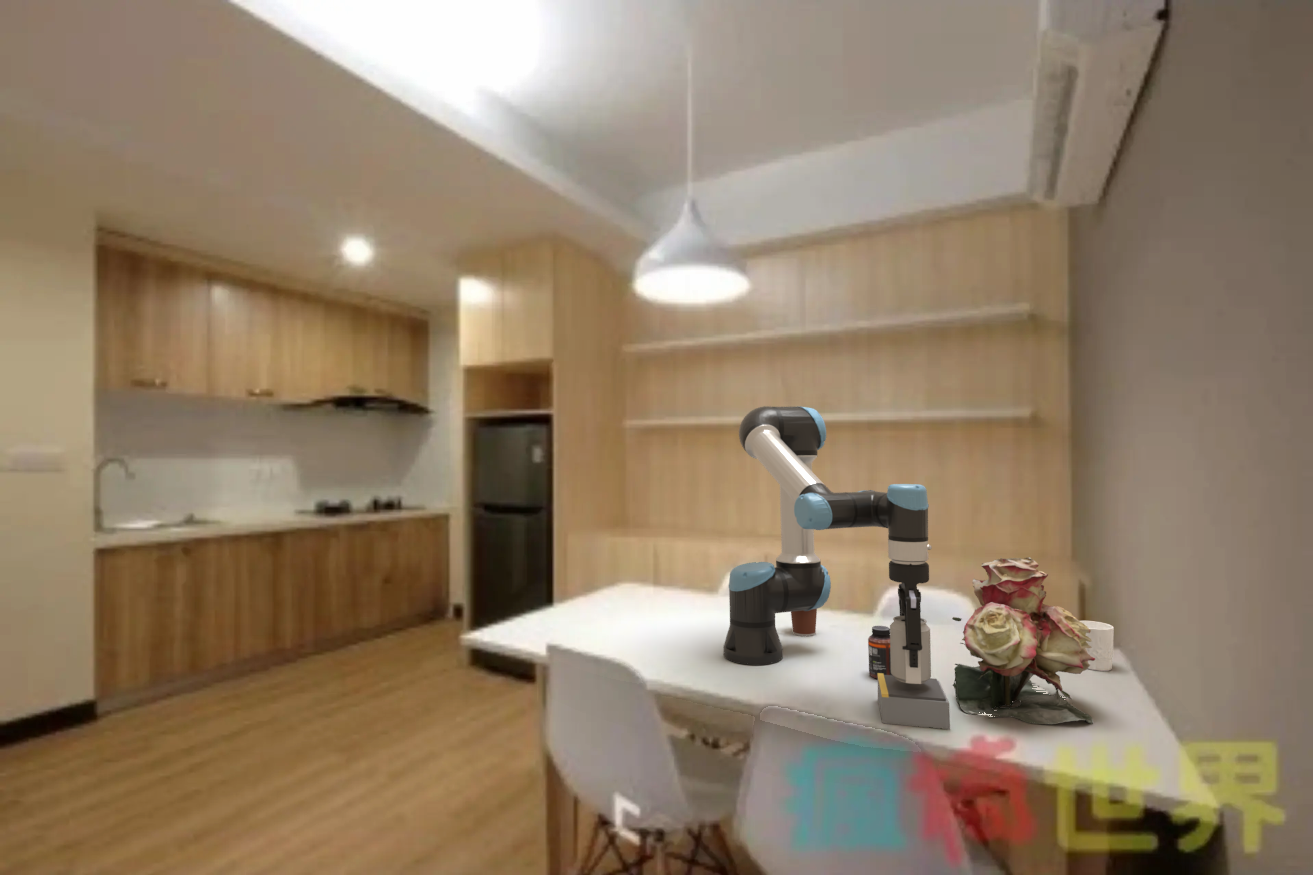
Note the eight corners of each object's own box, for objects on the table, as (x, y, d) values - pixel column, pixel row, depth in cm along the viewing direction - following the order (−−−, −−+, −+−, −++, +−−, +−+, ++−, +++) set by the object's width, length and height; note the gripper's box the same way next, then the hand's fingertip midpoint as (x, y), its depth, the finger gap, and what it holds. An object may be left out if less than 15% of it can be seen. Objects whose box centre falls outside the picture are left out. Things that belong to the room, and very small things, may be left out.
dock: (882, 722, 123) (881, 693, 123) (877, 699, 135) (877, 672, 135) (949, 729, 120) (949, 699, 120) (939, 704, 131) (938, 677, 132)
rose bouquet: (962, 722, 123) (958, 566, 124) (947, 672, 151) (944, 545, 151) (1119, 741, 114) (1114, 573, 115) (1073, 685, 142) (1069, 550, 143)
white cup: (1117, 665, 154) (1116, 624, 154) (1112, 674, 148) (1110, 631, 148) (1078, 658, 159) (1077, 618, 160) (1072, 666, 154) (1071, 625, 154)
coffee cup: (787, 628, 190) (786, 588, 190) (818, 629, 188) (817, 588, 189) (789, 637, 181) (788, 594, 181) (822, 638, 179) (821, 595, 180)
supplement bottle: (895, 673, 150) (894, 625, 151) (896, 682, 145) (895, 632, 145) (868, 670, 152) (868, 623, 153) (868, 679, 147) (867, 629, 147)
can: (924, 672, 131) (923, 613, 131) (936, 686, 123) (935, 623, 124) (886, 671, 132) (885, 613, 132) (896, 685, 124) (895, 623, 124)
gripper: (936, 570, 117) (939, 696, 117) (921, 553, 137) (923, 660, 136) (893, 569, 119) (895, 692, 119) (884, 552, 139) (886, 658, 138)
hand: (910, 675), depth 128 cm, fingers closed on can, 7 cm apart
